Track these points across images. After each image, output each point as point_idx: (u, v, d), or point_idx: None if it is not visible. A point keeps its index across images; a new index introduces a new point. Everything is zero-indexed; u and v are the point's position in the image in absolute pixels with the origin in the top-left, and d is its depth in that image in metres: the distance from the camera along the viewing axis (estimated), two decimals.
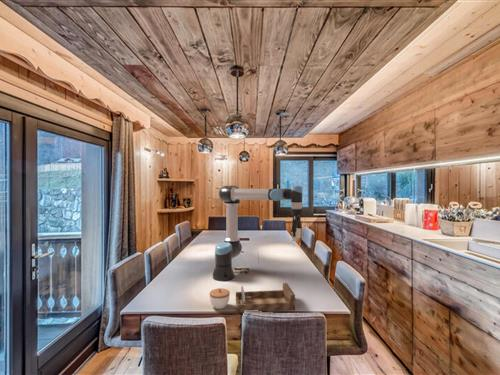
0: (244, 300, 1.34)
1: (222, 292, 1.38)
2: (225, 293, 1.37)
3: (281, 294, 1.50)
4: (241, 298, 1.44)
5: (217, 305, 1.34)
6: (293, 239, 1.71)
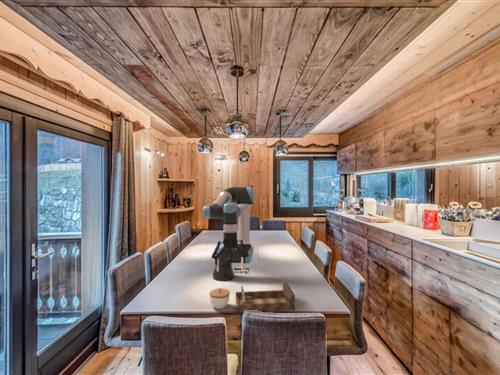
0: (244, 300, 1.34)
1: (222, 292, 1.38)
2: (225, 293, 1.37)
3: (281, 294, 1.50)
4: (241, 298, 1.44)
5: (217, 305, 1.34)
6: (217, 268, 1.42)
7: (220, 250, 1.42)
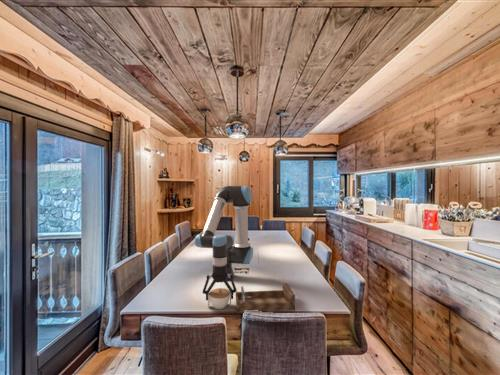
0: (244, 300, 1.34)
1: (222, 292, 1.38)
2: (225, 293, 1.37)
3: (281, 294, 1.50)
4: (241, 298, 1.44)
5: (217, 305, 1.34)
6: None
7: None
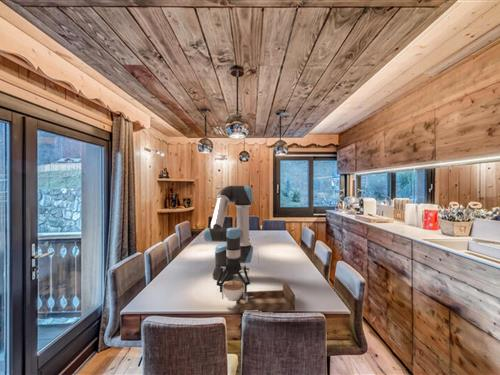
0: (247, 300, 1.34)
1: (236, 284, 1.39)
2: (239, 285, 1.38)
3: (281, 294, 1.50)
4: None
5: (231, 297, 1.35)
6: None
7: (224, 276, 1.40)
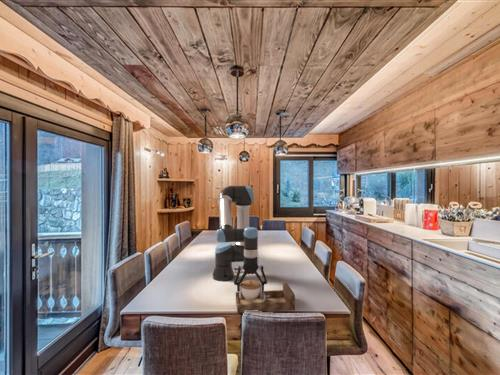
0: None
1: (253, 284, 1.40)
2: (256, 284, 1.39)
3: (281, 294, 1.50)
4: (260, 297, 1.45)
5: (249, 296, 1.36)
6: (239, 294, 1.41)
7: (241, 276, 1.41)
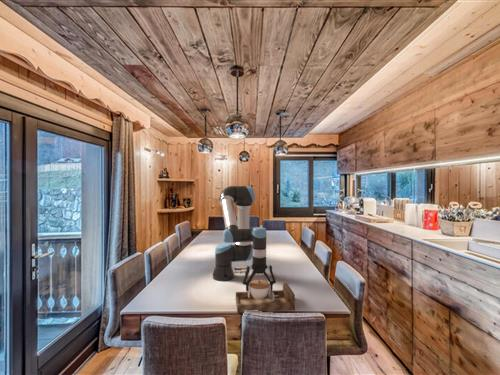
0: (273, 299, 1.35)
1: (262, 283, 1.40)
2: (265, 284, 1.39)
3: (281, 294, 1.50)
4: (268, 297, 1.46)
5: (258, 296, 1.36)
6: None
7: (250, 275, 1.41)
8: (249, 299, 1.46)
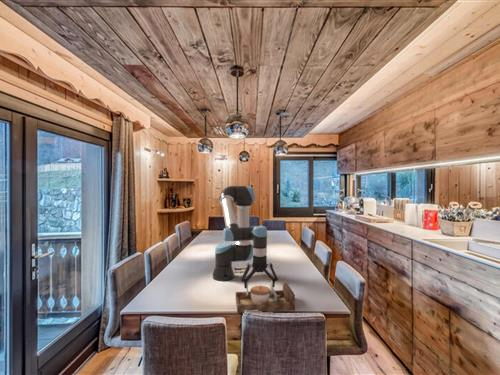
0: (276, 299, 1.36)
1: (263, 289, 1.40)
2: (266, 290, 1.39)
3: (281, 294, 1.50)
4: (271, 297, 1.46)
5: (259, 302, 1.37)
6: (246, 291, 1.41)
7: (249, 273, 1.41)
8: (249, 299, 1.46)
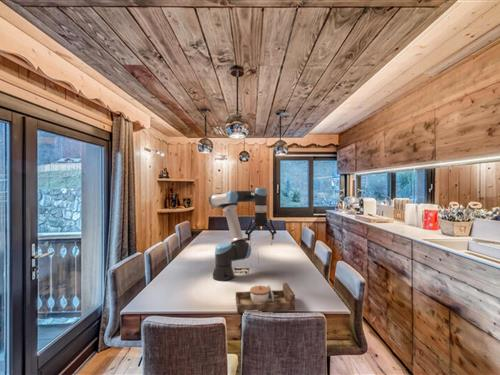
0: (273, 299, 1.35)
1: (263, 289, 1.40)
2: (266, 290, 1.39)
3: (281, 294, 1.50)
4: None
5: (259, 302, 1.37)
6: (249, 242, 1.66)
7: None
8: (249, 299, 1.46)
